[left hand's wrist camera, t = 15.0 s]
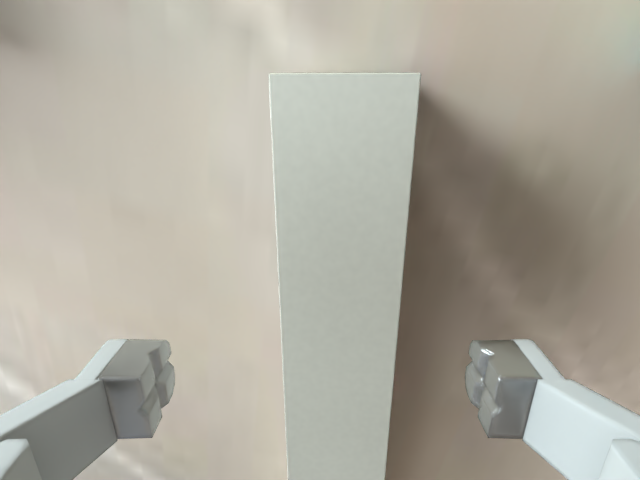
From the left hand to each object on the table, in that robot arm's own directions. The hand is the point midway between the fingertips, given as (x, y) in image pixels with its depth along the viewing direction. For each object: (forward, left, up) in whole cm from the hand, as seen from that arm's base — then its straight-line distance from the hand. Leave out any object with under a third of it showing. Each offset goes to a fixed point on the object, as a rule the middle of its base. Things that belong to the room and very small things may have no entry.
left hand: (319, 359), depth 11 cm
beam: (+4, -26, -11) cm, 29 cm away
